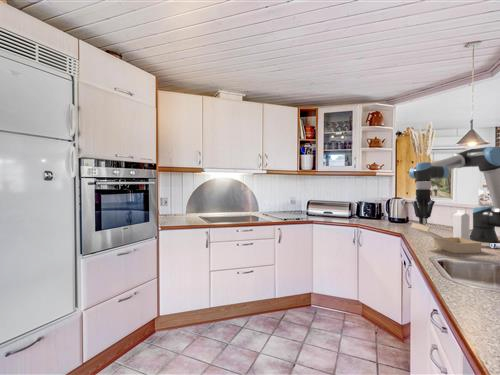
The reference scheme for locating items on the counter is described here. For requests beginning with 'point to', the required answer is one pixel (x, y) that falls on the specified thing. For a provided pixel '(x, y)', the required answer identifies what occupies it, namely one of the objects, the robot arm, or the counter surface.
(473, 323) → the counter surface
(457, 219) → the milk
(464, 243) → the base
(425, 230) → the lid
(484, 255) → the counter surface
